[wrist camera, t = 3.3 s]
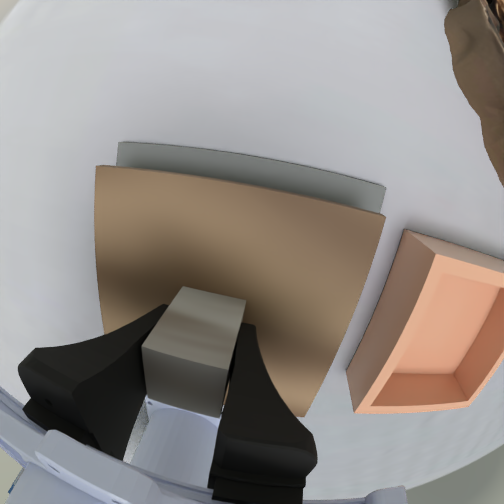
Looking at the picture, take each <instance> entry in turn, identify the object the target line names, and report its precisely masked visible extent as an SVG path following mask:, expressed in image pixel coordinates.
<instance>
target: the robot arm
mask: <svg viewBox="0 0 504 504" xmlns="http://www.w3.org/2000/svg"><path fill="white" fill-rule="evenodd" d="M168 307H169V305H167V304H162V305H160V306H158V307H157V308H155V309H153V310H152V311H150V312H148V313H147V314H145V315H143V316H141V317H140V318H138V319H136V320H134V321H133V322H131V323H129V324H127V325H125V326H123V327H121V328H119V329H117V330H115V331H112V332H110V333H108V334H105V335H102V336H100V337H97V338H94V339H90V340H86V341H83V342H79V343H75V344H70V345H64V346H57V347H44V348H35V349H34V350H33V351H32V352H31V353H30V354H29V355H28V356H27V357H26V358H25V359H24V360H23V361H22V362H21V363H20V364H19V365H18V373H19V376H20V378H21V380H22V382H23V384H24V386H25V388H26V390H27V392H28V394H29V395H30V397H31V399H30V400H29V401H28V402H27V403H26V405H25V406H24V405H23V404H22V403H20V402H19V401H18V400H17V399H15V398H14V397H13V396H11V395H10V394H9V393H8V392H7V391H5V390H4V389H3V388H2V387H1V386H0V447H1V448H2V449H3V450H4V451H5V452H6V453H8V454H9V455H10V456H11V457H12V458H13V459H15V460H16V461H17V462H18V463H19V464H20V465H22V466H23V467H24V468H25V470H24V471H23V473H22V475H21V476H20V478H19V480H18V481H17V483H16V485H15V486H14V488H13V490H12V491H11V493H10V495H9V497H8V499H7V500H6V502H5V504H408V502H407V496H406V491H405V486H398V487H392V488H385V489H380V490H376V491H373V492H371V493H370V494H368V495H367V496H366V497H364V498H353V499H338V500H303V488H304V487H305V485H306V476H307V475H308V474H309V473H310V472H311V471H312V470H313V469H314V468H315V466H316V464H317V450H316V445H315V441H314V438H313V434H312V433H311V432H310V431H309V430H308V429H307V428H306V427H305V426H304V425H303V424H302V423H301V422H300V421H299V420H298V419H297V418H296V417H295V415H294V414H293V413H292V412H291V410H290V409H289V408H288V406H287V405H286V403H285V402H284V400H283V399H282V398H281V396H280V395H279V393H278V391H277V389H276V388H275V386H274V384H273V382H272V380H271V378H270V376H269V374H268V371H267V369H266V366H265V364H264V361H263V358H262V355H261V352H260V348H259V344H258V339H257V333H256V326H255V325H253V324H248V323H243V322H241V325H240V328H239V332H238V336H237V342H236V347H235V352H234V358H233V363H232V369H231V374H230V380H229V388H228V394H227V398H226V402H225V405H224V409H223V413H222V414H221V415H220V419H219V418H215V417H210V416H206V415H202V414H198V413H194V412H191V411H187V410H184V409H180V408H177V407H173V406H170V405H167V404H164V403H160V402H157V401H154V400H151V399H149V398H148V396H147V389H146V382H145V374H144V366H143V357H142V347H141V346H142V345H143V343H144V342H145V340H146V339H147V337H148V336H149V334H150V333H151V331H152V330H153V328H154V327H155V325H156V324H157V322H158V321H159V320H160V318H161V317H162V315H163V314H164V312H165V311H166V309H167V308H168ZM144 399H145V403H146V408H147V413H148V419H149V423H148V425H147V427H146V429H145V432H144V434H143V436H142V438H141V440H140V442H139V445H138V447H137V449H136V451H135V453H134V456H133V458H132V460H131V462H130V464H128V463H126V462H123V458H124V454H125V451H126V447H127V444H128V441H129V438H130V435H131V432H132V429H133V427H134V424H135V421H136V419H137V416H138V413H139V411H140V408H141V406H142V404H143V401H144Z"/></svg>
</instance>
